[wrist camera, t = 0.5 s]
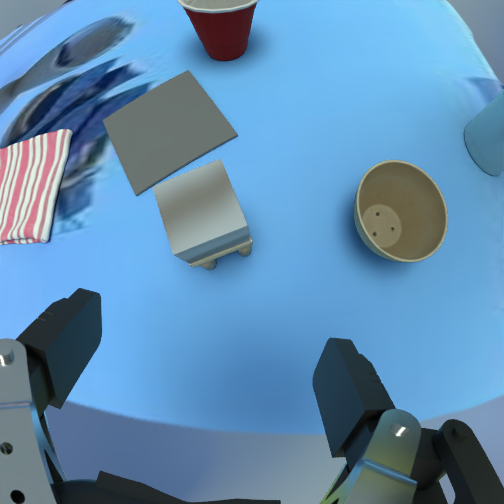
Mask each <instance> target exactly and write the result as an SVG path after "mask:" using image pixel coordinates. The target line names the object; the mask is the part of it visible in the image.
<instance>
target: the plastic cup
mask: <svg viewBox="0 0 504 504" xmlns="http://www.w3.org/2000/svg"><path fill="white" fill-rule="evenodd" d="M177 1H178V2H179V3H180V5H181V6H182V7H183V8H184V10H185V11H186V13H187V15H188V16H189V18H190V20H191V22H192V24H193V26H194V28H195V30H196V32H197V35H198V37H199V39H200V40H201V42H202V43H203V45H204V47H205V50H206V52H207V53H208V54H209V55H210V57H211V58H213V59H215V60H220V61H228V60H233V59H236V58H238V57H240V56H241V55H242V54H244V52H245V50H246V47H247V42H248V36H249V34H250V29H251V24H252V19H253V14H254V9H255V8H256V4H257V2H259V0H177Z"/></svg>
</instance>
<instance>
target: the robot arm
mask: <svg viewBox="0 0 504 504" xmlns="http://www.w3.org/2000/svg"><path fill="white" fill-rule="evenodd" d="M464 137H465V142H466V146H467V148H468V150H469V153H470V154H471V156H472V158H473V159H474V161H475V162H476V163H477V164H478V166H479V167H480V168H481V169H483V170H484V171H485V172H487V173H488V174H490V175H493V176H498V175H501V174H502V173H504V89H503V90H502V91H501V92H500V93H499V94H498V95H497V96H496V97H495V98H494V99H493V100H492V101H491V102H490V103H489V104H488V105H487V106H486V107H485V108H484V109H483V110H482V111H481V112H480V113H479V114H478V115H477V116H476V117H475V118H474V119H473V120H472V121H471V122H470V123H469V124H468V125H467V126H466V128H465V131H464ZM101 337H102V317H101V296H100V294H99V293H97V292H93V291H89V290H86V289H82V288H79V289H77V290H76V291H75V292H74V293H73V294H72V295H71V296H70V297H69V298H68V299H67V298H63V299H61V300H58V301H56V302H54V303H52V304H51V305H50V306H49V307H48V308H47V309H46V310H45V312H43V313H42V314H41V315H40V316H39V317H38V319H35V320H34V321H33V322H32V323H31V324H30V325H29V326H28V327H27V328H26V329H25V330H24V331H23V332H22V333H21V334H20V335H19V336H18V338H17V339H16V340H14V339H0V504H281V502H280V500H250V499H230V500H220V501H208V502H194V503H192V502H185V501H182V500H180V499H177V498H175V497H172V496H170V495H168V494H165V493H163V492H160V491H159V490H156V489H154V488H152V487H150V486H148V485H145V484H143V483H140V482H136V481H133V480H129V479H125V478H122V477H119V476H115V475H112V474H109V473H106V472H103V471H100V472H99V475H98V478H97V480H90V479H79V480H69V481H67V478H66V476H65V474H64V472H63V470H62V467H61V465H60V462H59V460H58V457H57V454H56V450H55V447H54V444H53V440H52V437H51V433H50V429H49V425H48V422H47V417H46V414H45V409H46V407H47V406H48V404H49V405H51V406H54V407H56V408H59V409H61V407H62V405H63V404H64V402H65V400H66V399H67V397H68V395H69V393H70V392H71V390H72V388H73V387H74V385H75V383H76V382H77V380H78V378H79V377H80V375H81V374H82V372H83V370H84V369H85V367H86V366H87V364H88V362H89V361H90V359H91V358H92V356H93V354H94V353H95V351H96V350H97V348H98V346H99V344H100V341H101ZM376 374H377V373H376V371H375V369H374V367H373V365H372V363H371V362H370V361H368V360H367V359H366V358H365V357H364V356H363V355H362V354H359V353H358V351H357V349H356V348H355V346H354V344H353V342H352V341H351V340H349V339H340V338H329V339H328V341H327V343H326V345H325V348H324V350H323V352H322V355H321V357H320V360H319V362H318V364H317V367H316V369H315V371H314V375H313V388H314V392H315V396H316V399H317V403H318V406H319V410H320V414H321V417H322V421H323V425H324V428H325V432H326V436H327V440H328V443H329V447H330V451H331V455H332V458H334V457H346V461H347V462H346V464H345V465H344V466H343V467H342V469H341V471H340V472H339V474H338V476H337V478H336V479H335V481H334V483H333V484H332V486H331V487H330V489H329V490H328V492H327V493H326V495H325V497H324V498H323V500H322V501H321V503H320V504H448V503H447V500H446V498H445V495H444V493H443V490H442V488H441V485H440V483H439V480H440V479H441V478H442V477H443V476H444V475H445V474H446V473H447V475H448V477H449V480H450V482H451V484H452V487H453V489H454V491H455V501H454V503H453V504H504V488H503V485H502V484H501V482H500V480H499V478H498V476H497V474H496V472H495V470H494V468H493V466H492V464H491V463H490V461H489V459H488V457H487V456H486V453H485V452H484V450H483V448H482V447H481V445H480V443H479V441H478V440H477V438H476V436H475V434H474V433H473V431H472V430H471V429H470V427H469V426H468V425H467V424H465V423H464V422H461V421H459V420H455V419H451V420H447V421H446V422H445V423H444V424H443V425H442V426H441V428H440V429H439V430H433V429H426V428H421V426H420V424H419V422H418V420H417V419H416V418H415V417H414V416H413V415H411V414H410V413H408V412H406V411H403V410H399V409H396V408H395V406H394V404H393V402H392V400H391V398H390V397H389V395H388V393H387V391H386V389H385V387H384V385H383V384H382V383H381V380H380V378H379V376H378V375H376Z"/></svg>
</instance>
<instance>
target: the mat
mask: <svg viewBox="0 0 504 504" xmlns="http://www.w3.org/2000/svg"><path fill="white" fill-rule="evenodd" d="M103 122H104V125H105V127H106V130H107V132H108V134H109V137H110V139H111V142H112V144H113V146H114V149H115V151H116V153H117V155H118V158H119V160H120V162H121V164H122V167H123V169H124V171H125V173H126V175H127V178H128V180H129V182H130V184H131V186H132V188H133V190H134V193H135V195H136V196H138V195H140V194H141V193H143V192H144V191H146V190H147V189H149V188H150V187H152V186H153V185H155V184H156V183H158V182H160V181H161V180H163V179H164V178H166V177H168V176H169V175H171V174H172V173H174V172H176V171H177V170H179V169H181V168H182V167H184V166H186V165H187V164H189V163H191V162H192V161H194V160H196V159H198V158H199V157H201V156H203V155H205V154H206V153H208V152H210V151H212V150H213V149H215V148H217V147H219V146H221V145H222V144H224V143H226V142H228V141H230V140H232V139H234V138H235V137H237V136H238V135H237V133H236V132H235V130H234V129H233V128H232V126H231V125H230V124H229V122H228V121H227V120H226V118H225V117H224V116H223V114H222V113H221V112H220V110H219V109H218V108H217V106H216V105H215V104H214V102H213V101H212V100H211V98H210V97H209V96H208V95H207V93H206V92H205V91H204V89H203V88H202V87H201V85H200V84H199V83H198V82H197V80H196V79H195V78H194V77H193V75H192V74H191V73H190V72H189V70H188V71H186V72H184V73H182V74H180V75H178V76H176V77H174V78H172V79H170V80H168V81H166V82H165V83H163V84H161V85H159V86H157V87H156V88H154V89H152V90H150V91H148V92H147V93H145V94H143V95H142V96H140V97H138V98H137V99H135V100H133V101H132V102H130V103H129V104H127V105H125V106H124V107H122V108H121V109H119V110H118V111H116V112H114V113H113V114H111V115H110V116H108V117H107V118H106V119H104V120H103Z"/></svg>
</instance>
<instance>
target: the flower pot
mask: <svg viewBox="0 0 504 504" xmlns="http://www.w3.org/2000/svg"><path fill="white" fill-rule="evenodd" d="M376 214H377V215H378V216H377V215H376ZM354 220H355V225H356V228H357V231H358V233H359V235H360V237H361V239H362V240H363V242H364V243H365V244H366V246H367V247H368V248H369V249H371V250H372V251H373V252H374V253H376V254H377V255H379V256H381V257H383V258H386V259H389V260H392V261H397V262H417V261H421V260H424V259H426V258H428V257H430V256H431V255H433V254H434V253H435V252H436V251H437V250H438V249H439V247H440V246H441V244H442V242H443V241H444V238H445V236H446V232H447V227H448V212H447V207H446V203H445V200H444V197H443V195H442V193H441V191H440V189H439V187H438V186H437V184H436V183H435V182H434V180H433V179H432V178H431V177H430V176H429V175H428V174H427V173H426V172H425V171H423V170H422V169H420V168H419V167H417V166H415V165H414V164H411V163H408V162H405V161H401V160H388V161H383V162H380V163H378V164H376V165H374V166H373V167H371V168H370V169H369V170H368V171H367V172H366V173H365V175H364V176H363V178H362V179H361V182H360V184H359V186H358V189H357V192H356V196H355V202H354ZM392 228H394V229H392ZM375 234H376V235H375ZM374 235H375V236H374Z"/></svg>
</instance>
